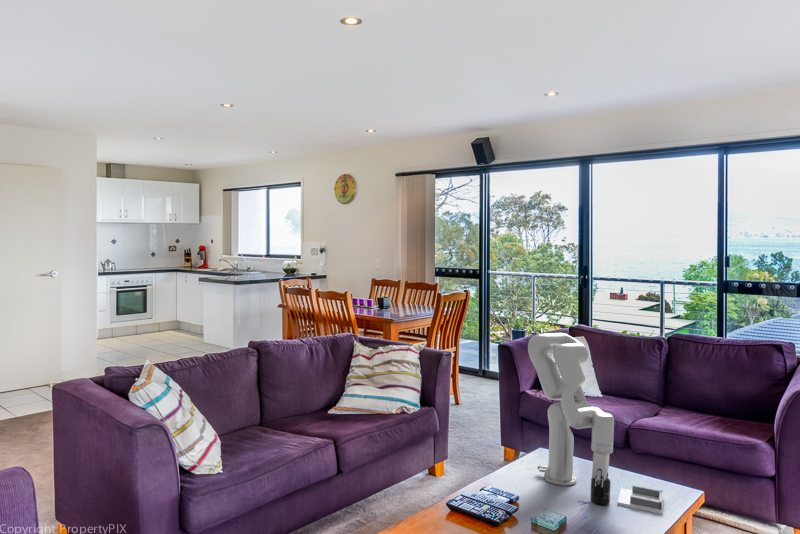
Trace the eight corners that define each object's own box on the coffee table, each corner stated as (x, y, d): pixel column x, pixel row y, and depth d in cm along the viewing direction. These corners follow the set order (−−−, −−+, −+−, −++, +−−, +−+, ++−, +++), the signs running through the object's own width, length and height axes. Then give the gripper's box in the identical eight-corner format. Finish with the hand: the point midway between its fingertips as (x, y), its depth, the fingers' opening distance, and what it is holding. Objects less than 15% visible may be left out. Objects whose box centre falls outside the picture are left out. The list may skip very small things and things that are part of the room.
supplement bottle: (611, 507, 210) (612, 475, 210) (591, 505, 211) (592, 473, 211) (608, 499, 217) (609, 467, 216) (589, 497, 218) (590, 466, 218)
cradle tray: (617, 504, 212) (617, 495, 212) (620, 490, 225) (621, 481, 225) (662, 514, 206) (662, 504, 206) (663, 498, 219) (663, 489, 218)
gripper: (594, 438, 223) (592, 481, 223) (588, 452, 207) (586, 499, 208) (615, 441, 219) (613, 485, 220) (610, 456, 204) (608, 503, 205)
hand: (600, 492), depth 214 cm, fingers open, 9 cm apart
